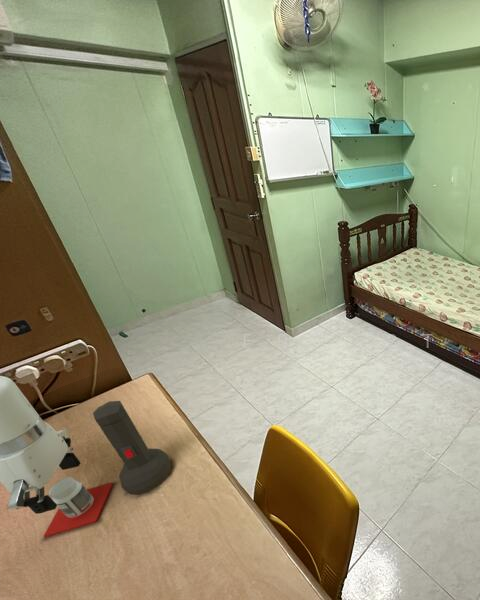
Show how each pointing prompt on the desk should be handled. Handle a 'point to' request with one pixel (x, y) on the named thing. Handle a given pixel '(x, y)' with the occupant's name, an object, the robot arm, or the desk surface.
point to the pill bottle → (71, 497)
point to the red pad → (88, 517)
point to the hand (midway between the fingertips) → (60, 487)
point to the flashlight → (132, 450)
